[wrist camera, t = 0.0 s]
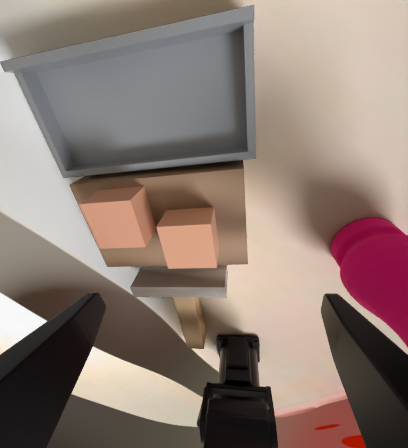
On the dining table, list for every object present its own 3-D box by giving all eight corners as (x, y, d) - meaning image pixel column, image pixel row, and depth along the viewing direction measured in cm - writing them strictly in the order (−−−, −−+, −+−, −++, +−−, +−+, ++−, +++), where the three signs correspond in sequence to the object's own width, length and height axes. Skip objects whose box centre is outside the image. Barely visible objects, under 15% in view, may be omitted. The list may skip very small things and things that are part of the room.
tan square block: (219, 247, 22) (216, 267, 19) (175, 248, 23) (168, 268, 20) (214, 207, 20) (210, 224, 17) (166, 210, 20) (156, 226, 18)
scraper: (233, 330, 33) (233, 357, 30) (165, 328, 35) (158, 353, 32) (226, 262, 27) (225, 287, 23) (142, 264, 29) (130, 287, 25)
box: (253, 152, 20) (256, 161, 17) (77, 171, 23) (57, 180, 20) (251, 19, 15) (254, 4, 13) (32, 66, 18) (-1, 61, 16)
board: (246, 246, 25) (247, 264, 22) (119, 250, 28) (107, 266, 25) (242, 159, 20) (243, 168, 17) (88, 174, 23) (69, 185, 20)
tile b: (156, 229, 22) (145, 247, 19) (115, 231, 22) (99, 248, 20) (144, 186, 19) (130, 200, 17) (98, 190, 20) (78, 204, 18)
